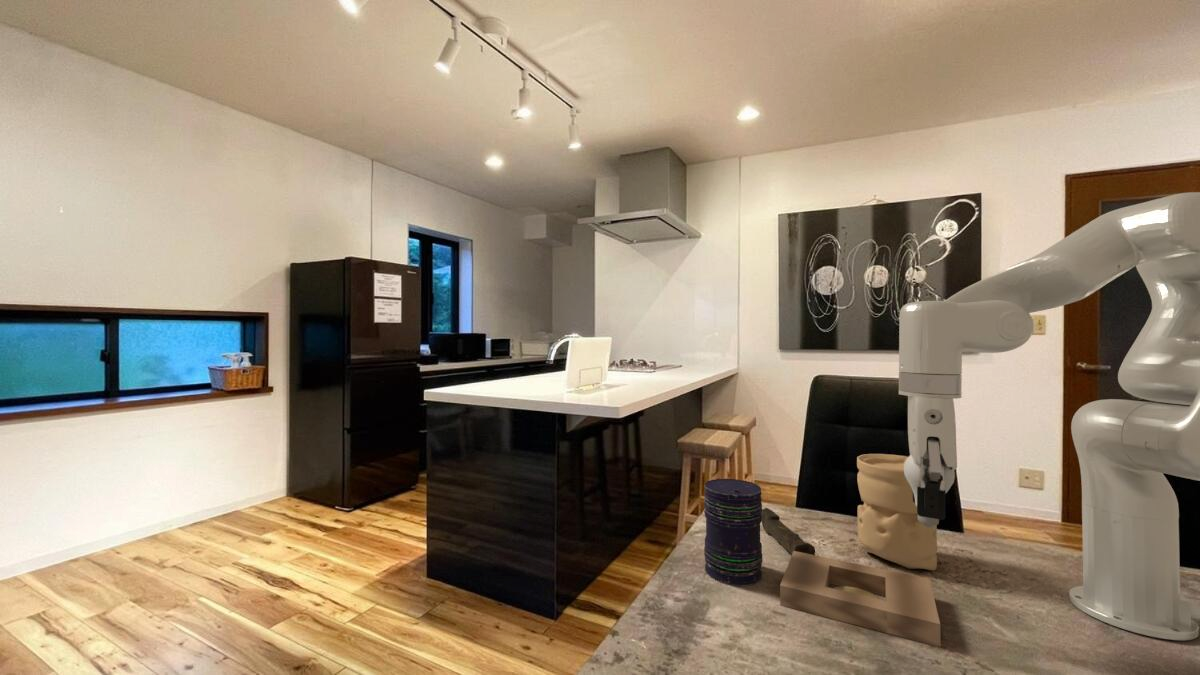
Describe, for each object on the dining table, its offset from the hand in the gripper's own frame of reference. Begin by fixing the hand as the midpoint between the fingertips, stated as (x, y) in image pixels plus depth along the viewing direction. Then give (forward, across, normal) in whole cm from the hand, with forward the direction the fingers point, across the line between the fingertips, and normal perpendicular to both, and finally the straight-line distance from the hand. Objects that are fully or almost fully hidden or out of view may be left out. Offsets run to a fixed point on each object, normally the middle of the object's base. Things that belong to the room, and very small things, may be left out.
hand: (928, 509), depth 68 cm
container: (+16, +22, +3) cm, 27 cm away
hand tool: (+17, +18, +23) cm, 33 cm away
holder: (+16, +1, +9) cm, 18 cm away
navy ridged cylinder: (+17, +1, +28) cm, 33 cm away
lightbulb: (+3, 0, 0) cm, 3 cm away
